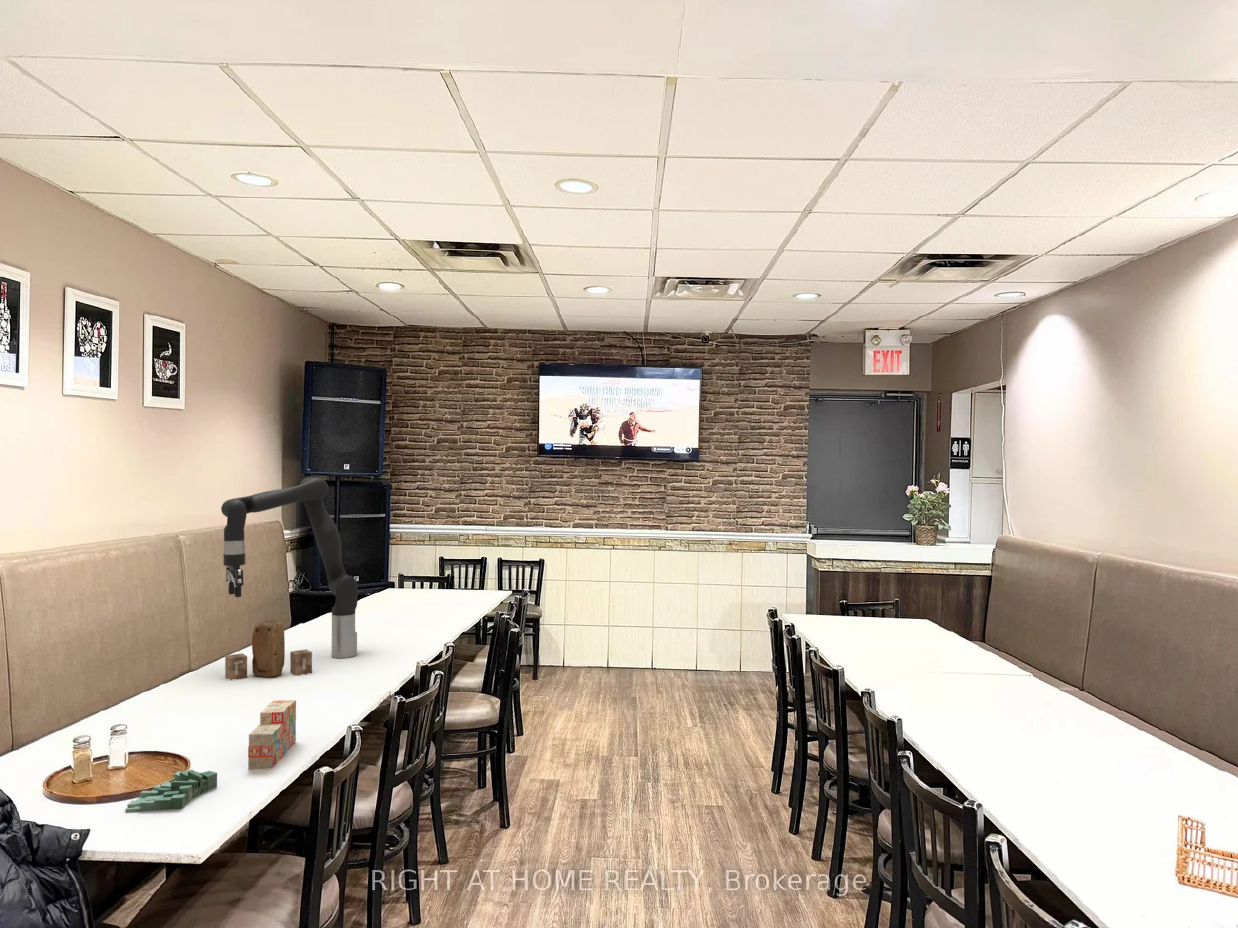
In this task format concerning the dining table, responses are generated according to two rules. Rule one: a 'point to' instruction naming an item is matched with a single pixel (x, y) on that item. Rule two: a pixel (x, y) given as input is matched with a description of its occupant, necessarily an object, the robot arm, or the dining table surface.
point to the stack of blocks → (272, 734)
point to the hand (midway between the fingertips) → (234, 595)
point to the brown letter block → (236, 666)
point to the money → (175, 792)
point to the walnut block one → (301, 662)
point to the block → (268, 648)
